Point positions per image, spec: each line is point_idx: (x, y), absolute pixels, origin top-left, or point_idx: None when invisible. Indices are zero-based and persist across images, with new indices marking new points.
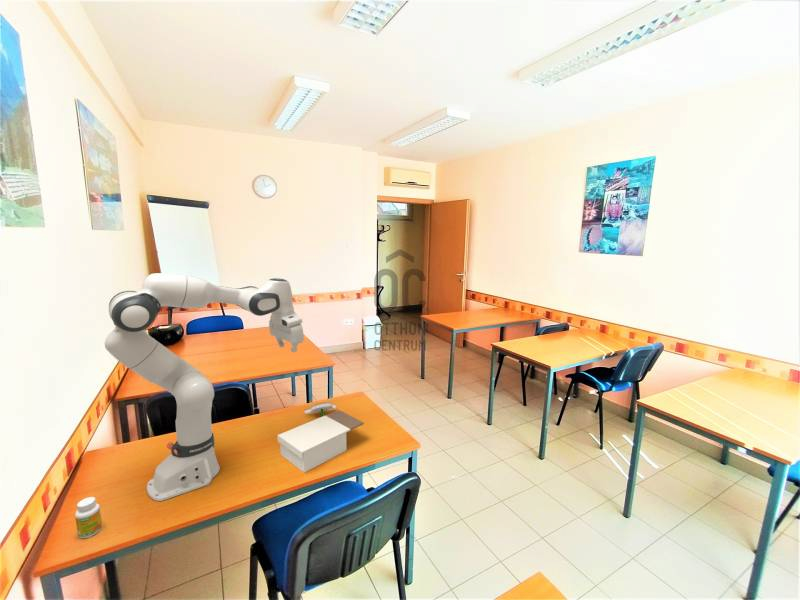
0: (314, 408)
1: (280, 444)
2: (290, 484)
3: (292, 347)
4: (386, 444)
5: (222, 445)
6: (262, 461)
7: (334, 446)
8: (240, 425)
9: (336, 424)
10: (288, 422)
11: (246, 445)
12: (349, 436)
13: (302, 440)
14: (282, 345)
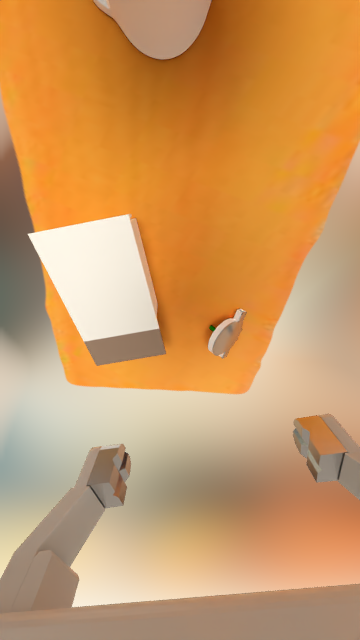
0: (220, 325)
1: (132, 219)
2: (28, 196)
3: (66, 502)
4: (84, 362)
5: (252, 102)
6: (130, 174)
7: None
8: (308, 179)
9: (112, 330)
10: (240, 273)
11: (213, 162)
12: None
13: (78, 254)
14: (303, 441)
